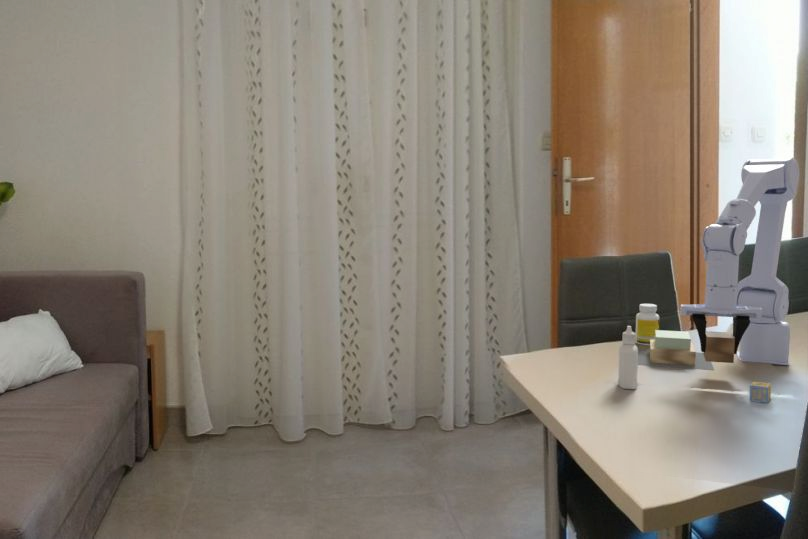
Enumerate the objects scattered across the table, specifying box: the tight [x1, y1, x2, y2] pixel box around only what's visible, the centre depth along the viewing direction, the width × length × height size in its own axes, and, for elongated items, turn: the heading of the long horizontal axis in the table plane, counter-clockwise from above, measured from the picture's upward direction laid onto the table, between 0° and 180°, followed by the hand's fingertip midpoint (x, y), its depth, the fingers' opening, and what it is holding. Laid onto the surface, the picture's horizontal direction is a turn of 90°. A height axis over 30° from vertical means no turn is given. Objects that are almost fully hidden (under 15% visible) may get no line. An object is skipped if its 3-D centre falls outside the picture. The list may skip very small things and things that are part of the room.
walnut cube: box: [702, 330, 735, 364], centre depth 132 cm, size 5×5×5 cm
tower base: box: [649, 339, 697, 365], centre depth 147 cm, size 9×9×3 cm
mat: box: [638, 348, 715, 371], centre depth 147 cm, size 16×14×1 cm
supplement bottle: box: [634, 303, 660, 346], centre depth 161 cm, size 5×5×10 cm
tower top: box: [655, 329, 692, 350], centre depth 146 cm, size 7×7×2 cm
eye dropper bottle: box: [617, 325, 639, 390], centre depth 129 cm, size 4×6×12 cm
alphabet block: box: [749, 381, 772, 404], centre depth 121 cm, size 3×3×3 cm
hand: (718, 351), depth 132 cm, fingers closed on walnut cube, 5 cm apart
